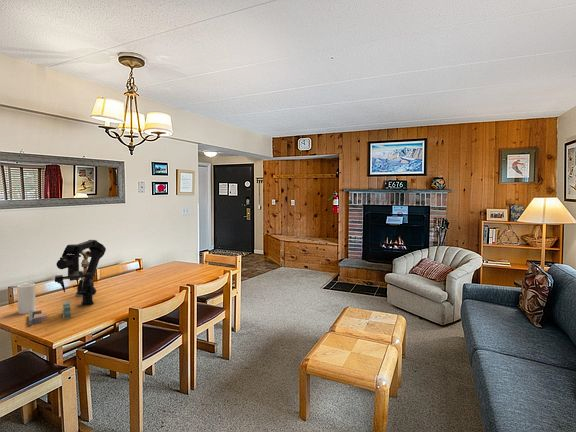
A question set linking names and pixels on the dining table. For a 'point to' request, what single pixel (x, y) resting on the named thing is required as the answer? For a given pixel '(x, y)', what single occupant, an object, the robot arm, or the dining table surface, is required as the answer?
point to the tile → (43, 316)
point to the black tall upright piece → (84, 264)
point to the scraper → (66, 310)
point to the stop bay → (34, 320)
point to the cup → (26, 298)
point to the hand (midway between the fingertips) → (73, 291)
